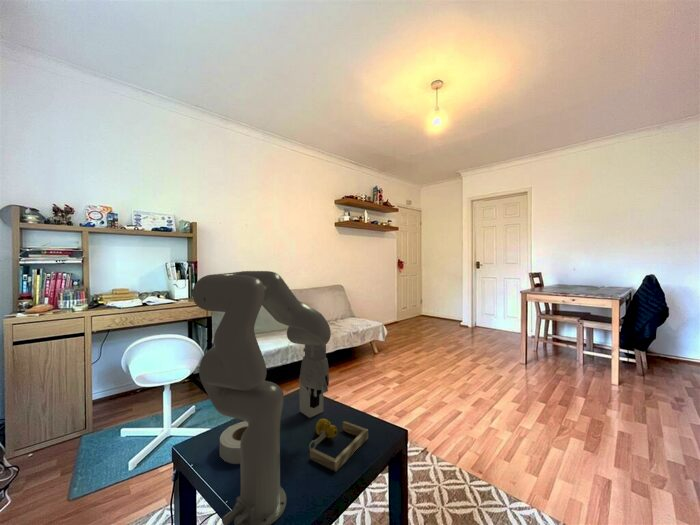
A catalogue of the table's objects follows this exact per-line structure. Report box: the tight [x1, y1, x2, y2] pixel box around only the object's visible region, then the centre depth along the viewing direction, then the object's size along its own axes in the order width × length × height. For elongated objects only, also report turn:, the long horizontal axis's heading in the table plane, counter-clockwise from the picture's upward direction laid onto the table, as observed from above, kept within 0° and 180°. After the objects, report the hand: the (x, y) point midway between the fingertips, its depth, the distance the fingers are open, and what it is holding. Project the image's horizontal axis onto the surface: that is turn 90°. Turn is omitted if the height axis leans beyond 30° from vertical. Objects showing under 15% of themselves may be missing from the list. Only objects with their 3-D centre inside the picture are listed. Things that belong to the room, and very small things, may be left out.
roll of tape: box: [219, 420, 248, 465], centre depth 94 cm, size 16×16×6 cm
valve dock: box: [309, 420, 369, 473], centre depth 94 cm, size 19×10×3 cm, turn 147°
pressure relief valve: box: [308, 418, 339, 451], centre depth 98 cm, size 6×12×10 cm
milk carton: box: [299, 382, 324, 419], centre depth 117 cm, size 7×7×19 cm
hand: (314, 406), depth 99 cm, fingers closed
